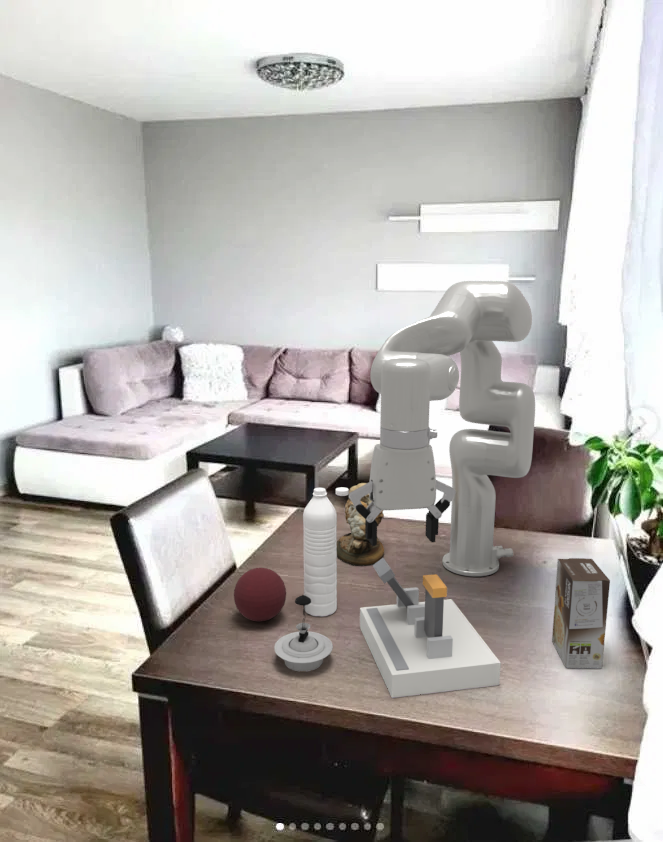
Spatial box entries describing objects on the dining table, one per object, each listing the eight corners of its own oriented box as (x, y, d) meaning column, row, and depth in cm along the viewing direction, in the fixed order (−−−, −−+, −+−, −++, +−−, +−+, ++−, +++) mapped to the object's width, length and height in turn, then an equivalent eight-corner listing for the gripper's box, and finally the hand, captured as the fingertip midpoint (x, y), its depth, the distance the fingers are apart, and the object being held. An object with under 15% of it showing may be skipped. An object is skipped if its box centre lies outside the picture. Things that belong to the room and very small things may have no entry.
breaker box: (450, 618, 130) (452, 583, 128) (499, 685, 109) (501, 644, 107) (359, 627, 127) (360, 591, 125) (391, 698, 105) (392, 656, 104)
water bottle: (302, 616, 130) (300, 493, 125) (305, 600, 137) (304, 483, 131) (347, 618, 130) (347, 494, 125) (348, 602, 136) (349, 484, 131)
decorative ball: (294, 609, 133) (293, 562, 131) (274, 635, 124) (273, 584, 122) (247, 602, 136) (246, 556, 134) (225, 626, 127) (223, 577, 125)
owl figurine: (331, 537, 170) (331, 472, 166) (377, 536, 171) (379, 471, 167) (338, 567, 152) (338, 495, 149) (389, 566, 153) (391, 494, 150)
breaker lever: (434, 634, 115) (436, 574, 113) (444, 649, 111) (447, 587, 108) (421, 635, 115) (423, 575, 113) (430, 651, 110) (432, 588, 108)
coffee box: (603, 669, 113) (612, 581, 110) (565, 668, 113) (572, 580, 110) (585, 640, 122) (592, 557, 119) (549, 639, 122) (556, 557, 119)
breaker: (415, 600, 126) (383, 557, 123) (423, 613, 121) (390, 569, 118) (405, 607, 126) (372, 565, 123) (413, 621, 121) (379, 577, 118)
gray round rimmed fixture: (322, 612, 107) (339, 585, 116) (264, 604, 110) (284, 578, 119) (323, 682, 110) (339, 649, 119) (265, 672, 112) (286, 641, 122)
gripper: (449, 430, 110) (445, 529, 114) (345, 434, 107) (344, 535, 111) (465, 441, 103) (460, 546, 107) (354, 445, 100) (353, 553, 104)
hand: (401, 540), depth 109 cm, fingers open, 9 cm apart
